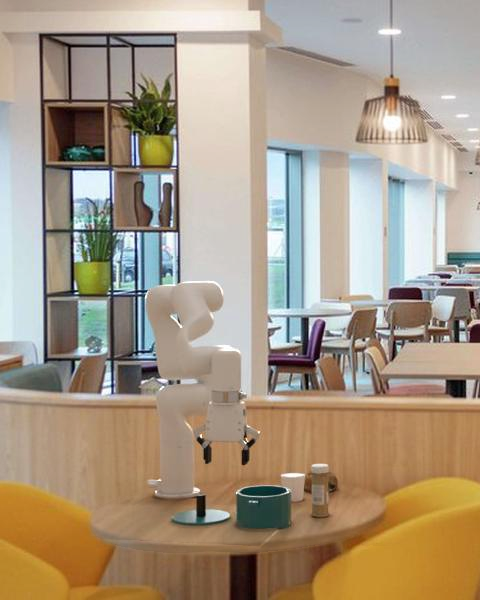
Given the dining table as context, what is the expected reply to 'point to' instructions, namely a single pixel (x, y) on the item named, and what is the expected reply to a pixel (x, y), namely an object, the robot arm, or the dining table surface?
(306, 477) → the bread roll
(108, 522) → the dining table surface
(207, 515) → the lid
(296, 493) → the white cup
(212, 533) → the dining table surface
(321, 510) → the spice jar
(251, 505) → the pot
